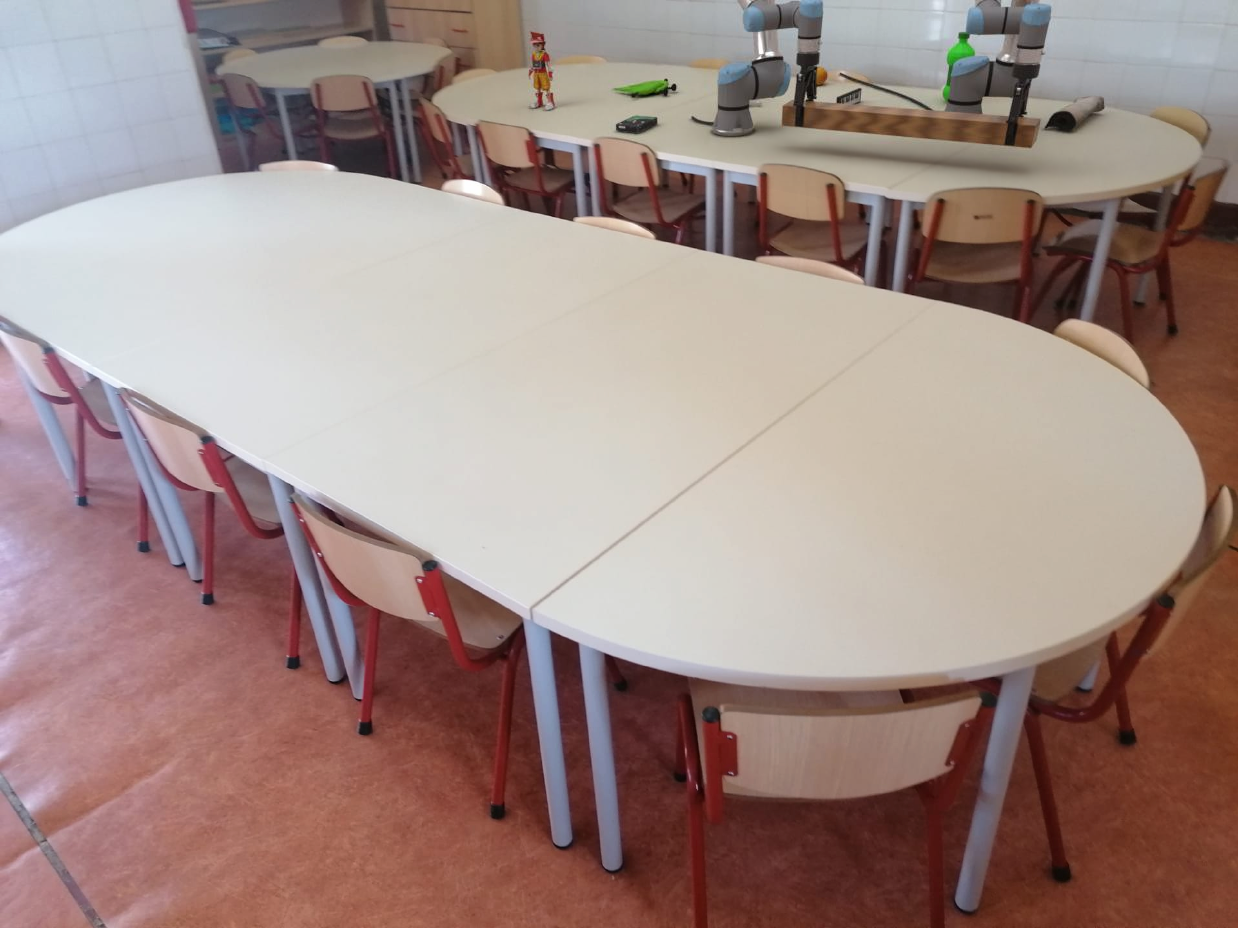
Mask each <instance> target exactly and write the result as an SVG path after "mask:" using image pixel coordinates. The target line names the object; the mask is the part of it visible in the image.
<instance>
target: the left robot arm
mask: <svg viewBox="0 0 1238 928" xmlns="http://www.w3.org/2000/svg"><path fill="white" fill-rule="evenodd" d="M736 1H737V2H738V4H739V6H740V7H741V9H742V11H743V13H742V24H743V28H744V30H745V32H747V33H752V35H753V47H754V56H753V58H752V59H751V63H750V62H749V61H735V62H730V63H727V64H724V65H723V66H722V67H720V68H719V70H718V75H717V82H716V83H717V111H716V114H715V118H714V120H713V121H706V120H702V119H698V118H696V117H695V116H693V115H692V116H691V117H690V118H691V119H692V120H693V121H695V122H697V123H699V124H704V125H708V126H709V125H710V126H712V133H713V134H715V135H717V136H721V137H741V136H746V135H750V134H752V133H754V127H755V126H754V122H753V118H752V115H751V111H750V106H749V101H750V100H756V101H757V100H765V99H774V98H777V97H782V96H784V95H786V93H787V92H788V90H789V87H790V84H791V77H792V70H791V67H790V64H789V62H787V61H785V60H784V54H782V53H780V51H779V36H778V30H786V29H797V41H796V44H797V45H796V51H797V53H796V59H795V60H796V61H795V64H796V65H797V66H798V67H799V66H800V71H799V73H796V76H795V77H796V81H795V89H794V98H793V100H794V104H793V106H796V115H795V126H799V127H798V128H801V127H803V121H804V106H803V105H804V101H815V100H817V99H818V96H817V95H818V92H817V91H818V88H817V87H818V85H817V67H818V66H819V64H820V59H821V57H820V56H821V52H820V50H821V45H822V44H823V41H822V29H823V18H824V16H823V15H824V1H823V0H801V1H799V0H789V1H788V2H786V3H779V4H777V3H776V0H736Z"/></svg>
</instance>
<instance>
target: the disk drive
mask: <svg viewBox="0 0 1238 928" xmlns="http://www.w3.org/2000/svg"><path fill="white" fill-rule="evenodd" d="M657 124H658V116H650V115H648V116H647V115H646V116H645V115H638V114H637V115H633V116H631V117H628V118H626V119H624V120H621V121H619V122H617V123H615V130H616V131H617V132H624V133H634V134H639V133H642V132H644V131H646V130H647V129H649V128H650V129H651V128H653V127H654V126H656V125H657Z"/></svg>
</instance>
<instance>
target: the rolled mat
mask: <svg viewBox="0 0 1238 928" xmlns="http://www.w3.org/2000/svg"><path fill="white" fill-rule="evenodd" d="M1105 107H1106V106H1105V98H1104V97H1103V96H1097V95H1089V96H1084V97H1079V98H1076V99H1075V100H1074V101H1073V102H1072V103H1071V104H1068V105H1067V106H1065V107H1062V108H1060V109H1059V110H1057V111H1055V112H1054V113H1053V114H1051V115H1050V117H1049V119H1048V121H1047V122H1046V124H1045V126H1044V130H1047V129H1049V128H1056V129H1057V130H1058V131H1061V132H1068V133H1069V132H1072V131H1073V130H1074V129H1076V128H1077V126H1079V125H1080V124H1081V122H1082V121H1084V120H1085V119H1086V118H1087V117H1089V116H1090V115H1091V114H1094V113H1099V112H1102V111H1104V110H1105Z"/></svg>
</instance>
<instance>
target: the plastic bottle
mask: <svg viewBox="0 0 1238 928" xmlns="http://www.w3.org/2000/svg"><path fill="white" fill-rule="evenodd" d="M970 36H971V34H967V33H966V31H959V32H958V36H957V39H958V42H957V43H956V44H954V45H953V46H952V47H951V48H950V49H949V50H948V52H947V54H946V63H947V64H948V69H947V70H948V71H947V76H946V77H947V78H946V84H945V85H944V87H943V90H942V97H943V99H944V100H945V101H946V103H947V102H948V95H949V89H950V83H951V74H952V70H953V65H954V63H955V62H956V61H957V60H959V59H962V58H966V57H971V56H976V51H975V49H974V47H972V45H971V44H970V43H969V42H968V41H969V39H970V38H971V37H970Z"/></svg>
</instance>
